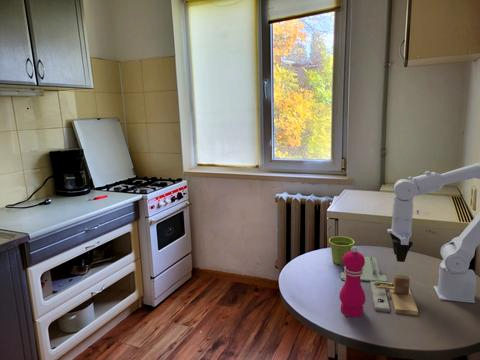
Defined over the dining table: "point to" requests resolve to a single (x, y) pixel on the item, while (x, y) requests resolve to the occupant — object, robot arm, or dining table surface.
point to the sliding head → (399, 284)
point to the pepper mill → (352, 284)
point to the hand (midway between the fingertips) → (399, 257)
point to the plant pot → (340, 248)
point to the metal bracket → (369, 271)
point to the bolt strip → (379, 297)
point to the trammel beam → (401, 301)
